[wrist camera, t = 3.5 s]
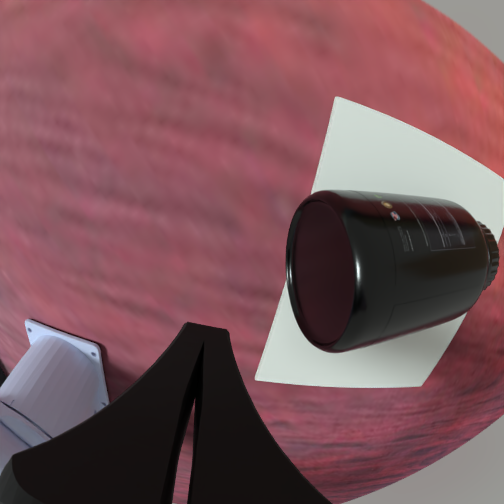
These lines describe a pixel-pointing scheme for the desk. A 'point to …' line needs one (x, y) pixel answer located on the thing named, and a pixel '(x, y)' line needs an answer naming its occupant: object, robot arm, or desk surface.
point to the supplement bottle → (383, 266)
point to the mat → (385, 181)
